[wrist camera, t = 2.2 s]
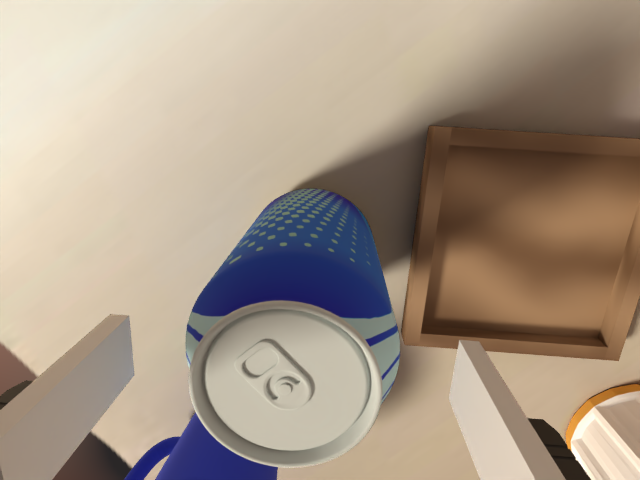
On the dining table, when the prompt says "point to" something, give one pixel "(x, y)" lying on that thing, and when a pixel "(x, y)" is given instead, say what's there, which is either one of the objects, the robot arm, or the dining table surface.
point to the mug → (199, 459)
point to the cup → (608, 434)
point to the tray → (525, 243)
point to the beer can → (294, 335)
